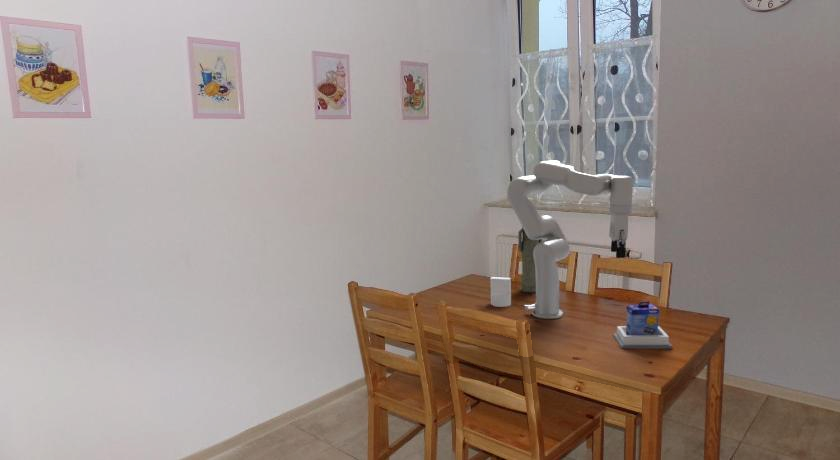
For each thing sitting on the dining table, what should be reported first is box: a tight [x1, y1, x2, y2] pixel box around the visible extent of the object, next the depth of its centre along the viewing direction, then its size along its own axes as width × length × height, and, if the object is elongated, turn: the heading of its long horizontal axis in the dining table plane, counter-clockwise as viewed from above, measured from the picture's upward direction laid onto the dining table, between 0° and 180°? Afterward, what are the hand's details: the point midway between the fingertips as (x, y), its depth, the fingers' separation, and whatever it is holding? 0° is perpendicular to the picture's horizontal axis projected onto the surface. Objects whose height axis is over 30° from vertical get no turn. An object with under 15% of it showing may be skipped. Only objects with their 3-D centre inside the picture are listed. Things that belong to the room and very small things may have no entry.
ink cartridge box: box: [625, 301, 660, 335], centre depth 203 cm, size 10×6×14 cm, turn 92°
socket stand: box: [613, 325, 673, 350], centre depth 204 cm, size 17×13×4 cm
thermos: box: [517, 226, 543, 293], centre depth 275 cm, size 9×12×35 cm
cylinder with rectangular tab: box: [489, 276, 512, 308], centre depth 256 cm, size 9×9×12 cm
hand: (617, 254), depth 213 cm, fingers open, 9 cm apart
